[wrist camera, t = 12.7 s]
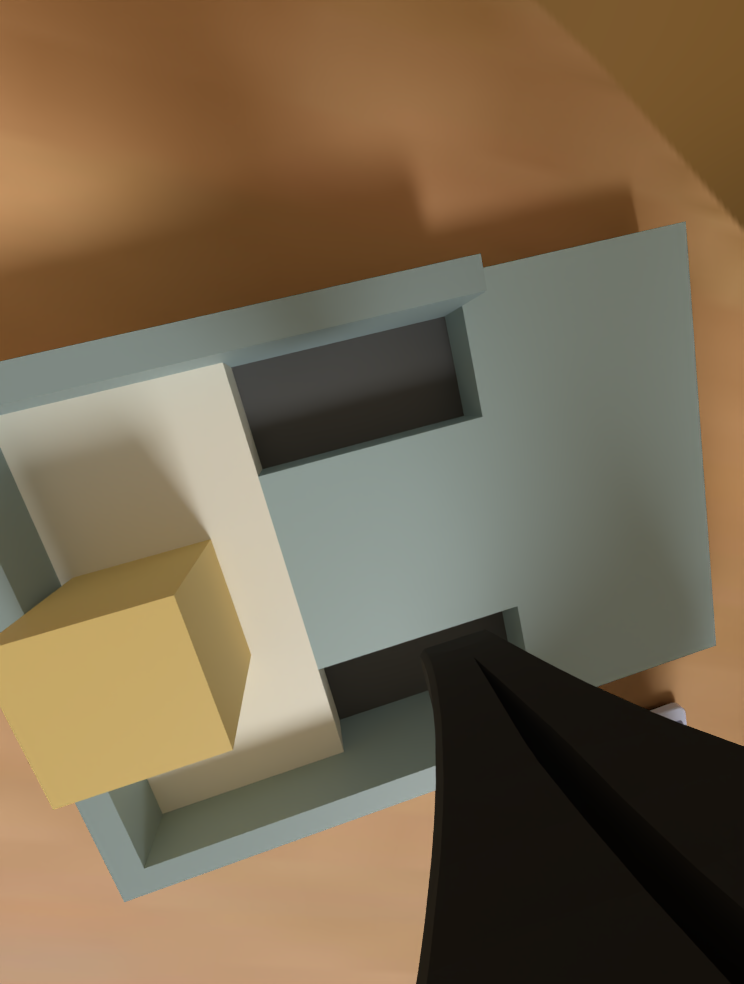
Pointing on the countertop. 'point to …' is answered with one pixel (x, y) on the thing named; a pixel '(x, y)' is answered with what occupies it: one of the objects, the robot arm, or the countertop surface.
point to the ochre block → (126, 674)
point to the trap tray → (373, 512)
